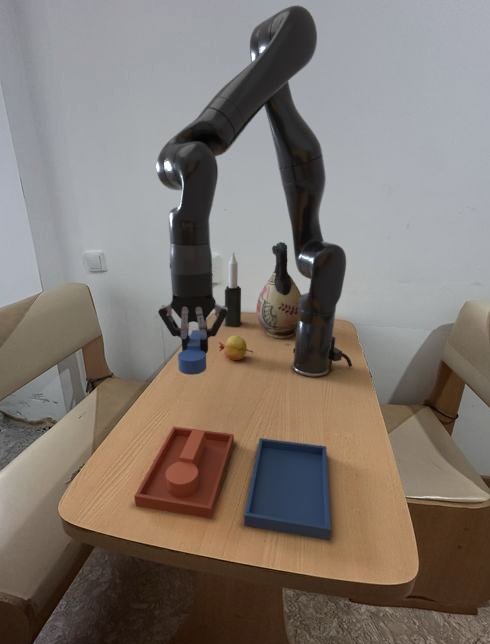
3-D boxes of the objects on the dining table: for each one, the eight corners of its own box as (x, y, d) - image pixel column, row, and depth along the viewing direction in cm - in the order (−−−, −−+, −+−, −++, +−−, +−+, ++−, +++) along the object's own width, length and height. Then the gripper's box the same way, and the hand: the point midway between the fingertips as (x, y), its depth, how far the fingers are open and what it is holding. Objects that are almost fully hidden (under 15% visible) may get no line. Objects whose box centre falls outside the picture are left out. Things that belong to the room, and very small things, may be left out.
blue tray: (259, 446, 71) (259, 437, 70) (325, 455, 69) (326, 446, 68) (244, 525, 55) (244, 515, 54) (329, 540, 53) (331, 529, 52)
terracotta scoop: (186, 443, 71) (185, 428, 70) (213, 447, 70) (212, 431, 69) (162, 494, 60) (160, 477, 58) (193, 499, 59) (192, 482, 57)
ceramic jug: (254, 325, 131) (257, 237, 119) (298, 325, 131) (305, 237, 118) (256, 344, 116) (259, 245, 103) (306, 345, 115) (315, 245, 103)
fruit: (256, 336, 106) (222, 332, 109) (251, 339, 100) (215, 335, 102) (253, 359, 108) (220, 355, 110) (248, 364, 101) (213, 359, 104)
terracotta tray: (173, 435, 74) (173, 426, 74) (233, 442, 72) (233, 434, 71) (135, 506, 58) (134, 495, 57) (211, 519, 56) (211, 508, 55)
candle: (238, 327, 129) (239, 254, 119) (224, 326, 130) (224, 253, 120) (241, 322, 134) (242, 251, 123) (227, 321, 135) (227, 250, 124)
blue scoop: (186, 345, 80) (185, 330, 78) (210, 345, 80) (210, 330, 78) (176, 374, 68) (175, 356, 67) (205, 374, 68) (204, 357, 66)
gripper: (230, 264, 70) (230, 347, 78) (157, 264, 71) (164, 346, 78) (229, 273, 64) (229, 363, 71) (148, 272, 64) (157, 362, 71)
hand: (195, 354), depth 74 cm, fingers closed on blue scoop, 2 cm apart
